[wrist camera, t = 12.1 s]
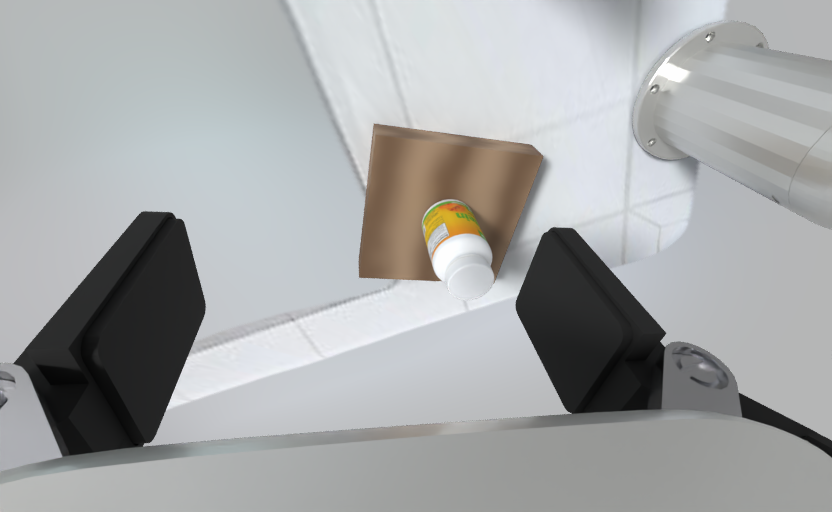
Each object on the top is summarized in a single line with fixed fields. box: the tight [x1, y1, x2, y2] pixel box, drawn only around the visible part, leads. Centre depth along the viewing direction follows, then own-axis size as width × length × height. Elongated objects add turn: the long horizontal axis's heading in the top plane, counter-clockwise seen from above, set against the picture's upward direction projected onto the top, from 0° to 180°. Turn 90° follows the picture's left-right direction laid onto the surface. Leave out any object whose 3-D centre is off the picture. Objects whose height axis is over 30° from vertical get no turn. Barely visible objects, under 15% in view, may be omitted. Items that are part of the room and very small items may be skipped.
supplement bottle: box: [422, 199, 494, 300], centre depth 35 cm, size 5×5×10 cm
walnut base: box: [359, 124, 543, 284], centre depth 40 cm, size 16×16×3 cm
